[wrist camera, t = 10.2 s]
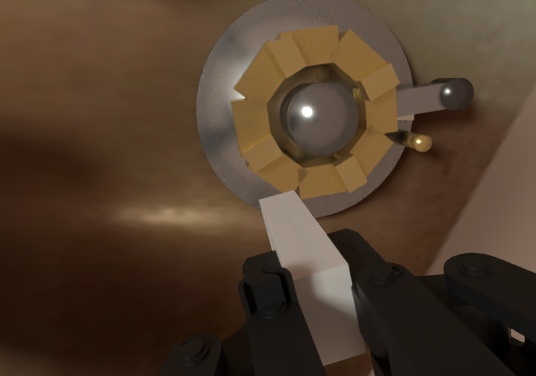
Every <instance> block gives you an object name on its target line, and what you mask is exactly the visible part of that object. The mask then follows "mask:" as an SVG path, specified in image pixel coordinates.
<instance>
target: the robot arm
mask: <svg viewBox="0 0 536 376" xmlns="http://www.w3.org/2000/svg"><path fill="white" fill-rule="evenodd" d="M259 203H260V207H261V210H262V214H263V218H264V222H265V225H266V229H267V233H268V237H269V240H270V244H271V248H272V251H270V252H267V253H264V254H260V255H257V256H253V257H250V258H247V259H246V261H245V263H244V265H243V267H242V269H243V276H244V278H243V279H242V280H241V281H240V283H239V287H238V290H239V294H240V297H241V300H242V303H243V307H244V310H245V313H246V316H247V321H246V322H245V324H244V325H243V326H242V327H241V328H240V329H239V330H238V331H237V332H236V333H234V334H233V335H231V336H229V337H228V338H226V339H224V340H222V341H220V340H219V338H218V337H217V336H215V335H212V334H198V335H194V336H191V337H189V338H187V339H185V340H183V341H181V342H180V343H179V344H177V345H176V346H175V347H174V348H173V349H172V350H171V351H170V353H169V354H168V356H167V357H166V359H165V361H164V363H163V365H162V367H161V370H160V372H159V374H158V376H327V374H326V371H325V369H324V365H328V364H331V363H334V362H337V361H341V360H344V359H347V358H350V357H353V356H357V355H360V354H363V353H366V351H365V346H364V341H363V338H364V340H365V342H366V343H367V345H368V347H369V349H370V353H371V358H372V364H373V369H374V374H375V376H536V273H533V272H531V271H529V270H526V269H524V268H521V267H519V266H516V265H514V264H511V263H509V262H506V261H504V260H501V259H499V258H496V257H494V256H490V255H486V254H479V253H465V254H460V255H457V256H453V257H451V258H450V259H448V260H447V261H446V262H445V265H444V274H441V275H430V276H414V275H413V274H412V273H411V272H410V271H409V270H408V269H406V268H405V267H403V266H401V265H399V264H395V263H386V262H385V260H384V259H383V258H382V257H381V256H380V255H379V254H378V253H377V252H376V251H375V250H374V249H373V248H372V247H371V246H370V245H369V244H368V243H367V242H366V241H365V240H364V238H363V237H362V236H361V235H360V234H359V233H358V232H355V231H352V230H350V229H347V228H346V229H343V230H339V231H336V232H332V233H329V234H326V233H325V232H324V231H323V229H322V228H321V227H320V225H319V224H318V223H317V221H316V220H315V218H314V217H313V216H312V214H311V213H310V212H309V210H308V209H307V208H306V206H305V205H304V203H303V202H302V201H301V199H300V198H299V197H298V195H297V194H296V193H295V191H294V190H292V191H289V192H285V193H282V194H278V195H274V196H271V197H267V198H264V199H260V200H259ZM511 329H513V330H515V331H516V332H518V333H520V334H522V335H524V336H525V342H521V341H519V340H517V339H515V338H513V337H511Z"/></svg>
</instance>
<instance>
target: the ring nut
mask: <svg viewBox="0 0 536 376" xmlns="http://www.w3.org/2000/svg"><path fill="white" fill-rule="evenodd" d="M320 64H324V65H326V66H327V67H328V68H329V69H330V70H332V71H333V72H334V73H335V74H336V75H338V76H339V77H340V78H341V79H342V80H343V81H345V82H346V83H347V84H348V85H349V86H351V87H352V88H353V98H354V100H355V101H356V104H357V107H358V112H359V121H358V126H357V130H356V132H355V134H354V136H353V138H352V139H351V140H350V142H349V143H348V144H347V145H346V146H344V147H343V148H342V149H340V150H338V151H336V152H335V153H334V154H333V156H328V157H323V158H317V159H311V160H305V161H299V162H296V161H295V160H294V159H292V158H291V157H290V156H288V155H287V154H286V153H284V152H283V151H281V150H280V148H279V146H278V145H277V143H276V141H275V140H274V138H273V136H272V135H271V133H270V126H269V119H268V112H267V105H266V104H267V103H268V101H269V100H270V98H271V97H272V96H273V94H274V93H275V91H276V90H277V89H278V87H279V86H280V85H281V83H282V82H283V80H284V79H286V78H288V77H290V76H291V75H293V74H295V73H296V72H298V71H299V70H301V69H303V68H304V67H307V66H313V65H320ZM399 83H400V82H399V80H398V78H397V75H396V73H395V71H394V69H393V66H392V64H391V62H390V63H387V62H386V61H385V60H384V59H383V58H382V57H381V56H380V55H378V54H377V53H376V52H375V51H374V50H373V49H372V48H371V47H370V46H368V45H367V44H366V43H365V42H364V41H363V40H362V39H361V38H360V37H358V36H357V35H356V34H355V33H354V32H353V31H352V30H351V29H350V28H349V29H347V30H344V31H342V32H339V33H338V26H337V25H331V26H324V27H317V28H310V29H303V30H295V31H288V32H281V33H279V34H278V35H276V36H275V42H273V43H272V42H271V41H270V40H268V41H267V42H265V43H264V44H263V46H262V47H261V49H260V50H259V52H258V53H257V54H256V56H255V57H254V59H253V60H252V62H251V63H250V64H249V66H248V67H247V69H246V70H245V72H244V73H243V74H242V76H241V77H240V79H239V80H238V82H237V83H236V84H235V86H234V87H233V89H234V90H236V91H237V92H238V93H240V94H241V95H242V96H244V97H245V98H242V99H235V100H230V103H231V109H232V115H233V121H234V126H235V132H236V138H237V144H238V150H239V154H240V157H241V158H242V157H245V158H246V160H245V163H246V166H247V168H248V169H250V170H251V171H252V172H254V173H255V174H257V175H258V176H260V177H261V178H263V179H264V180H265V181H267V182H268V183H270V184H271V185H273V186H274V187H276V188H277V189H278V190H280V191H281V192H283V193H285V192H289V191H292V190H294V191H295V192H296V194H297V195H298V197H299V198H300V199H301V200H302V199H308V198H313V197H319V196H324V195H330V194H335V193H341V192H346V191H348V192H349V193H351V192H353V191H354V190H356V189H357V188H359V187H361V186H362V185H364V184H366V183H367V182H368V181H367V179H366V177H367V176H368V175H369V174H370V172H371V171H372V170H373V169H374V167H375V166H376V165H377V164H378V162H379V161H380V160H381V158H382V157H383V156H384V155H385V153H386V152H387V151H388V150H389V148H390V147H391V146H392V145H393V143H394V142H392V141H391V140H390V139H389V138H388V137H386V136H385V135H384V133H390V132H396V131H398V124H397V117H401V116H407V115H413V114H419V113H425V112H431V111H437V110H451V111H460V110H463V109H465V108H466V107H467V106H468V105H469V104H470V102H471V101H472V98H473V94H474V90H473V86H472V84H471V83H470V81H468V80H467V79H465V78H438V79H435V80H433V81H432V82H431V83H426V84H420V85H413V86H407V87H401V88H396V85H398V84H399Z"/></svg>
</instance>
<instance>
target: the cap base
mask: <svg viewBox="0 0 536 376" xmlns="http://www.w3.org/2000/svg"><path fill="white" fill-rule="evenodd" d="M331 25H337V26H338V33H339V32H342V31H344V30H347V29H349V28H350V29H351V30H352V31H353V32H354V33H355V34H356V35H357V36H358V37H360V38H361V39H362V40H363V41H364V42H365V43H366V44H367V45H368V46H370V47H371V48H372V49H373V50H374V51H375V52H376V53H377V54H378V55H380V56H381V57H382V58H383V59H384V60H385V61H386V62H387V63H390V62H391V64H392V66H393V69H394V71H395V73H396V75H397V78H398V80H399V82H400V83H399V84H398V85H396V88H401V87H407V86H413V81H412V76H411V71H410V68H409V65H408V62H407V59H406V56H405V54H404V52H403V50H402V48H401V46H400V44H399V43H398V41H397V39H396V38H395V36H394V35H393V33H392V32H391V31H390V30H389V29H388V27H387V26H386V25H385V24H384V23H383V22H382V21H381V20H380V19H379V18H378V17H377V16H375V15H374V14H373V13H372V12H371V11H369V10H368V9H366V8H365V7H363V6H361V5H360V4H358V3H356V2H354V1H352V0H267V1H265V2H263V3H261V4H258V5H256V6H255V7H253V8H252V9H250V10H249V11H247V12H246V13H244V14H243V15H241V16H240V17H239V18H238V19H237V20H236V21H235V22H234V23H233V24H232V25H230V26H229V28H228V29H227V30H226V31H225V32H224V34H223V35H222V36H221V37H220V38H219V40H218V41H217V43H216V45H215V46H214V48H213V49H212V51H211V53H210V55H209V57H208V59H207V61H206V64H205V66H204V69H203V72H202V75H201V78H200V82H199V87H198V93H197V107H196V115H197V126H198V132H199V136H200V140H201V144H202V147H203V149H204V152H205V155H206V157H207V159H208V161H209V163H210V165H211V166H212V168H213V170H214V171H215V173H216V174H217V176H218V177H219V178H220V180H221V181H222V182H223V183H224V184H225V185H226V186H227V188H228V189H229V190H230V191H231V192H233V193H234V194H235V195H236V196H237V197H239V198H240V199H241V200H243V201H244V202H246V203H248V204H249V205H251V206H252V207H254V208H257V209H259V210H261V207H260V203H259V200H260V199H264V198H267V197H271V196H274V195H278V194H282V193H283V192H281V191H280V190H278V189H277V188H276V187H274V186H273V185H271V184H270V183H268V182H267V181H265V180H264V179H263V178H261V177H260V176H258V175H257V174H255V173H254V172H252V171H251V170H250V169H248V168H247V166H246V163H245V160H246V158H245V157H242V158H241V157H240V154H239V150H238V144H237V138H236V132H235V126H234V121H233V115H232V109H231V103H230V100H235V99H242V98H245V97H244V96H242V95H241V94H240V93H238V92H237V91H236V90H234V89H233V87H234V86H235V84H236V83H237V82H238V80H239V79H240V77H241V76H242V74H243V73H244V72H245V70H246V69H247V67H248V66H249V64H250V63H251V62H252V60H253V59H254V57H255V56H256V54H257V53H258V52H259V50H260V49H261V47H262V46H263V44H264V43H265V42H267V41H268V40H270V41H271V42H272V43H273V42H275V36H276V35H278V34H279V33H281V32H288V31H295V30H303V29H310V28H317V27H324V26H331ZM266 105H267V112H268V119H269V126H270V133H271V135H272V136H273V138H274V140H275V141H276V143H277V145H278V146H279V148H280V150H281V151H283V152H284V153H286V154H287V155H288V156H290V157H291V158H292V159H294V160H295V161H296V162H299V161H305V160H311V159H317V158H323V157H328V156H333V154H334V153H335V152H336V151H338V150H340V149H342V148H343V147H344V146H346V145H347V144H348V143H349V142H350V140H351V139H352V138H353V136H354V134H355V132H356V130H357V126H358V121H359V112H358V107H357V104H356V101H355V100H354V98H353V88H352V87H351V86H349V85H348V84H347V83H346V82H345V81H343V80H342V79H341V78H340V77H339V76H338V75H336V74H335V73H334V72H333V71H332V70H330V69H329V68H328V67H327V66H326V65H324V64H320V65H313V66H307V67H304V68H303V69H301V70H299V71H298V72H296V73H295V74H293V75H291V76H290V77H288V78H286V79H284V80H283V82H282V83H281V85H280V86H279V87H278V89H277V90H276V91H275V93H274V94H273V96H272V97H271V98H270V100H269V101H268V103H267V104H266ZM412 120H414V114H413V115H407V116H401V117H397V124H398V131H396V132H390V133H384V135H385V136H386V137H388V138H389V139H390V140H391V141H392V142H394V143H393V145H392V146H391V147H390V148H389V150H388V151H387V152H386V153H385V155H384V156H383V157H382V158H381V160H380V161H379V162H378V164H377V165H376V166H375V167H374V169H373V170H372V171H371V172H370V174H369V175H368V176H367V177H366V179H367V181H368V182H367V183H366V184H364V185H362V186H361V187H359V188H357V189H356V190H354V191H353V192H351V193H349V192H348V191H346V192H341V193H335V194H330V195H324V196H319V197H313V198H308V199H302V200H301V201H302V202H303V203H304V205H305V206H306V208H307V209H308V210H309V212H310V213H311V214H312V216H313V217H314V218H317V217H322V216H326V215H331V214H333V213H336V212H339V211H342V210H344V209H346V208H348V207H350V206H352V205H354V204H356V203H357V202H359V201H361V200H362V199H364V198H365V197H367V196H368V195H369V194H370V193H371V192H373V191H374V190H375V189H376V188H377V187H378V186H379V185H380V184H381V183H382V182H383V181H384V180H385V179H386V177H387V176H388V175H389V173H390V172H391V171H392V169H393V168H394V167H395V165H396V163H397V162H398V160H399V158H400V156H401V154H402V152H403V150H404V148H405V146H406V147H409V148H411V149H414V150H417V151H420V152H426V151H428V150H429V149H430V148H431V146H432V140H431V138H430V137H429V136H426V135H422V134H418V133H414V132H410V130H411V126H412ZM295 193H296V192H295ZM261 211H262V210H261Z"/></svg>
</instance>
